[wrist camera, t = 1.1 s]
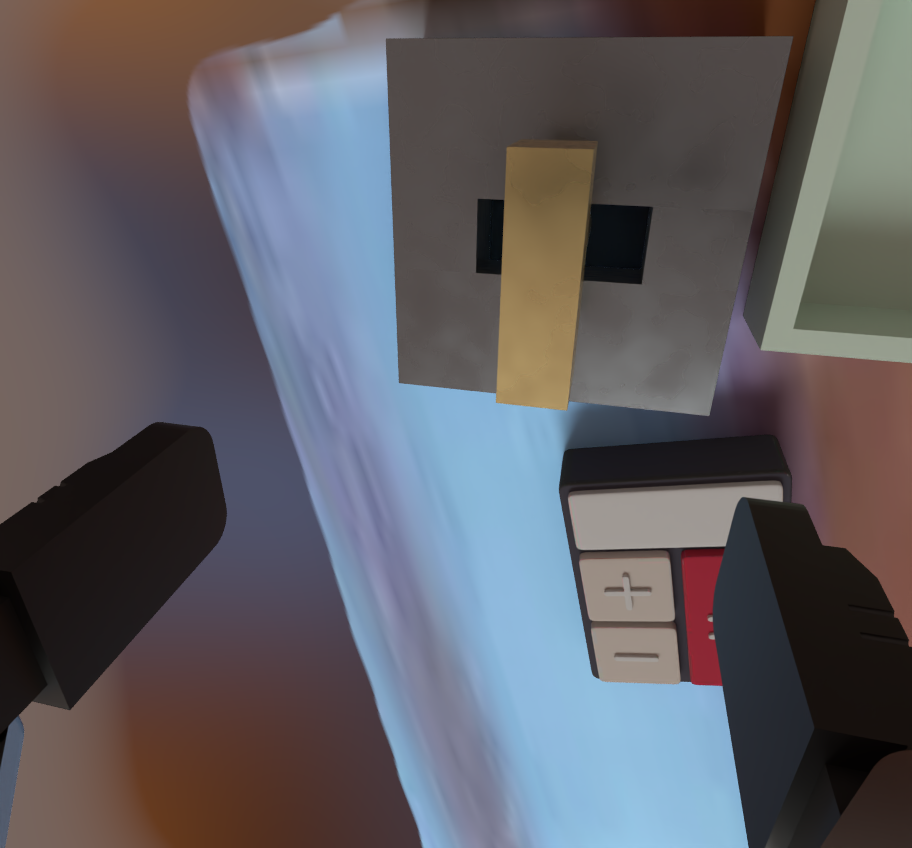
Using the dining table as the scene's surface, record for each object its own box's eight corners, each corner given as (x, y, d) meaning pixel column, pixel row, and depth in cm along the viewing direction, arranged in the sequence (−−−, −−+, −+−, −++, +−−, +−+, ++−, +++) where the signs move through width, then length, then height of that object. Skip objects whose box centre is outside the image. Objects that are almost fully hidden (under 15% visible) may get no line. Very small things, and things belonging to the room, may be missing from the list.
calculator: (592, 690, 39) (555, 493, 32) (594, 635, 43) (562, 447, 36) (790, 697, 36) (797, 480, 29) (774, 637, 39) (777, 431, 32)
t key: (550, 124, 28) (506, 146, 18) (605, 125, 28) (593, 149, 17) (537, 300, 32) (495, 402, 22) (586, 303, 31) (567, 410, 21)
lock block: (764, 44, 25) (793, 36, 21) (697, 371, 32) (709, 416, 27) (422, 45, 28) (385, 38, 24) (427, 345, 34) (398, 382, 30)
